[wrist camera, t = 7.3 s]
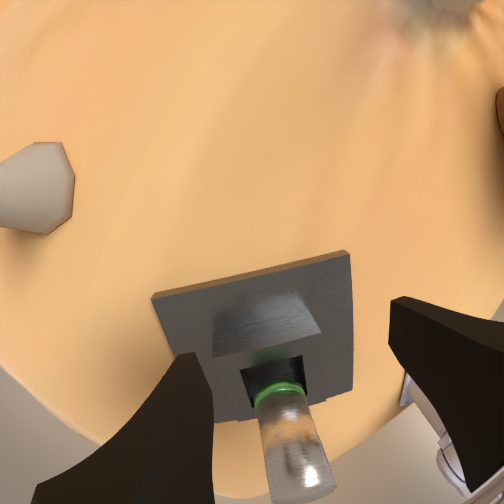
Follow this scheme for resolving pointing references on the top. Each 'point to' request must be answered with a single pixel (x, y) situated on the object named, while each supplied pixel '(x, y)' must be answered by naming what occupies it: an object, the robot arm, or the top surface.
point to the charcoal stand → (266, 331)
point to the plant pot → (500, 108)
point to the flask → (36, 188)
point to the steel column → (291, 444)
